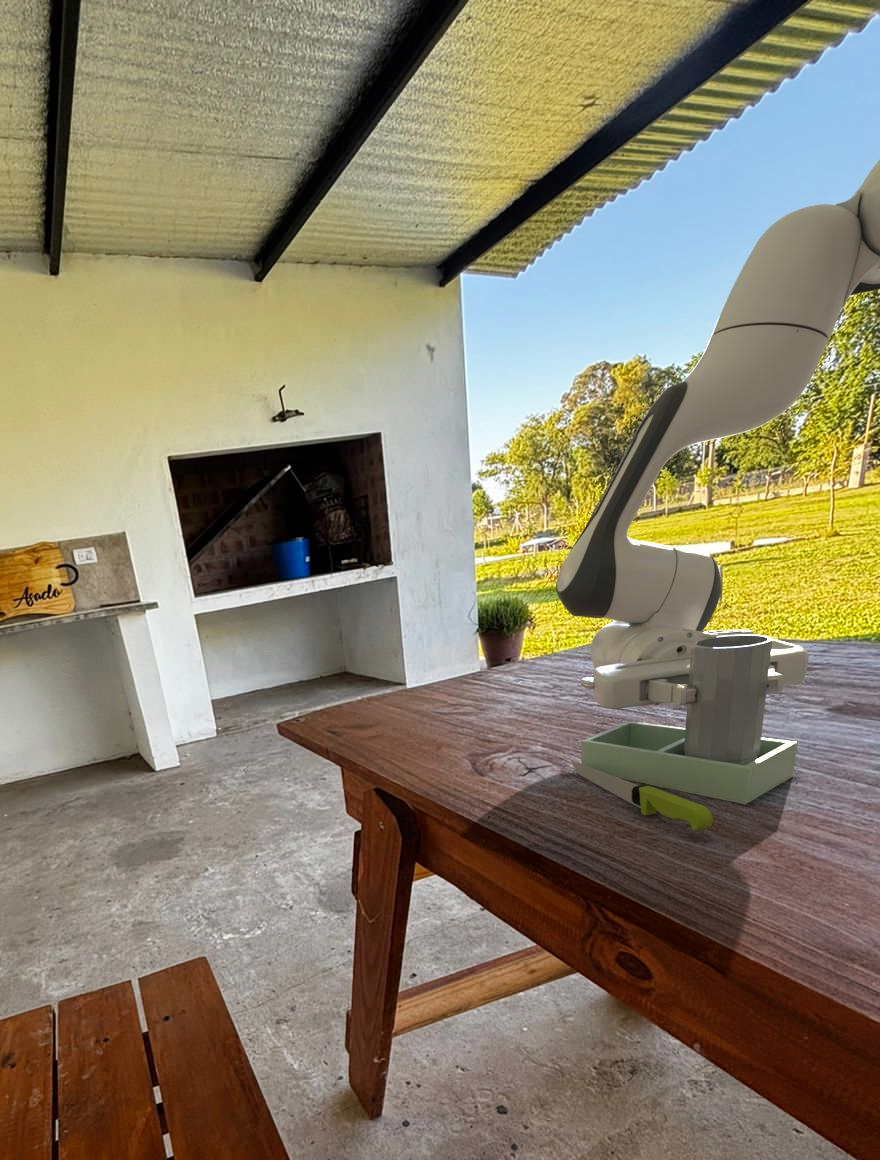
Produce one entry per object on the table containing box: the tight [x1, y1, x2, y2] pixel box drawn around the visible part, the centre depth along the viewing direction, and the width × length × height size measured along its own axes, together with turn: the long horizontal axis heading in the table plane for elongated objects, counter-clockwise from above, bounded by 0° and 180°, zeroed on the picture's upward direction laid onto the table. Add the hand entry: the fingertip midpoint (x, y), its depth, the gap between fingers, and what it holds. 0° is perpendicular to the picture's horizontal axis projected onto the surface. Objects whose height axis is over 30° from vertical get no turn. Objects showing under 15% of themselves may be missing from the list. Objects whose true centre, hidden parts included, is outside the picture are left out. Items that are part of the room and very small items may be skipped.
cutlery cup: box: [684, 634, 774, 765], centre depth 62 cm, size 6×6×12 cm
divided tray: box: [580, 720, 798, 805], centre depth 68 cm, size 9×18×4 cm, turn 30°
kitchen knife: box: [571, 760, 714, 832], centre depth 64 cm, size 22×1×3 cm, turn 5°
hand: (732, 690), depth 61 cm, fingers closed on cutlery cup, 6 cm apart
